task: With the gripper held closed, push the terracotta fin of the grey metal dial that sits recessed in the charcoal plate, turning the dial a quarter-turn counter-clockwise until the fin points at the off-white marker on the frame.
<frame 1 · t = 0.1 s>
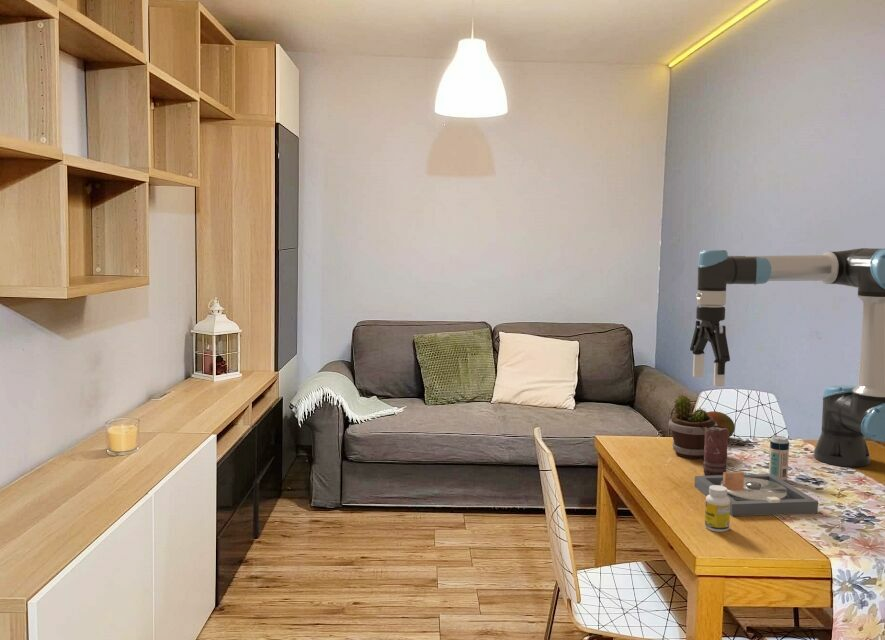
hand: (708, 381, 208), 28 cm above the table, fingers open, 13 cm apart
flowerpot: (691, 454, 235), on the table
supplement bottle: (716, 528, 175), on the table
dial: (753, 483, 194), point 4 cm above the table, hinge at 0.0°
can: (715, 476, 214), on the table
dial plate: (752, 499, 195), on the table
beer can: (777, 479, 211), on the table
fruit: (715, 440, 252), on the table
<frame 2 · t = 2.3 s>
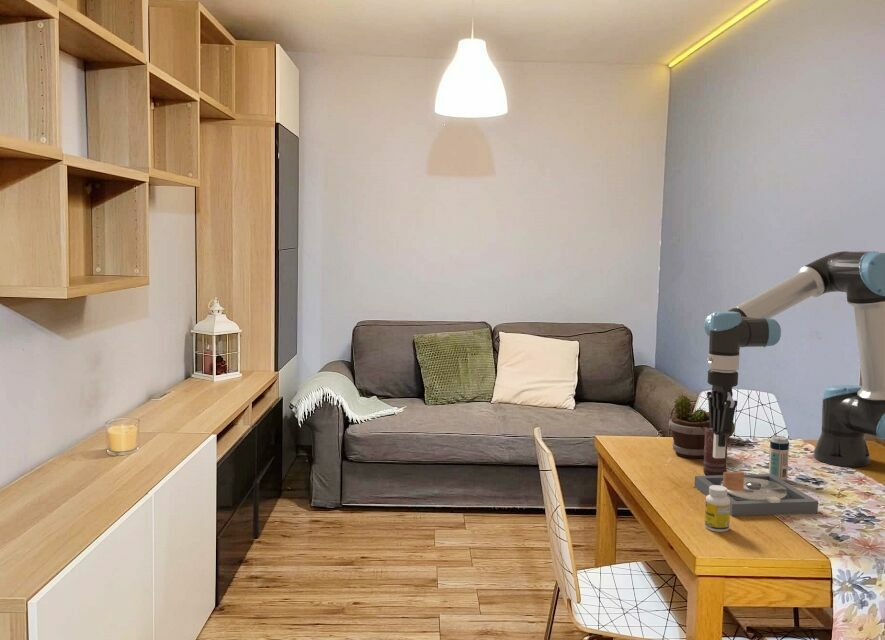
hand: (718, 457, 199), 10 cm above the table, fingers closed
nothing on the table moved.
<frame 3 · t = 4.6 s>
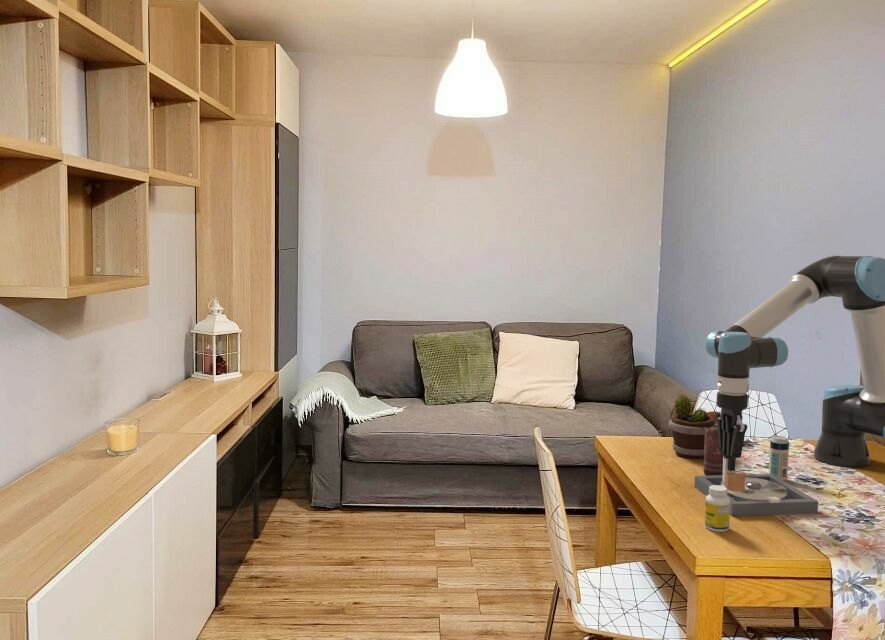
hand: (728, 481, 194), 5 cm above the table, fingers closed
dial: (753, 483, 194), point 4 cm above the table, hinge at 8.3°, touching gripper
everything else where it was.
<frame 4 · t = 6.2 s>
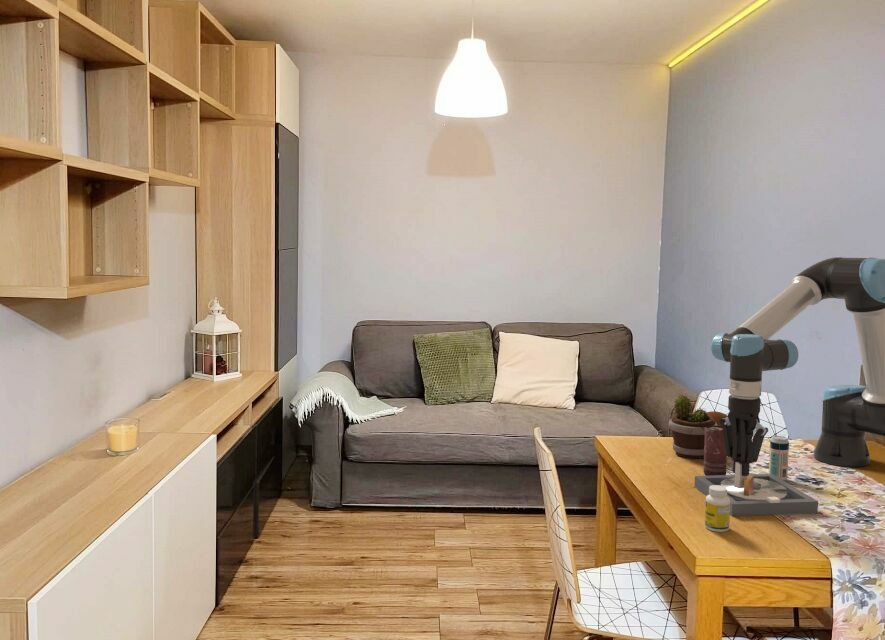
hand: (740, 486, 190), 5 cm above the table, fingers closed
dial: (753, 483, 194), point 4 cm above the table, hinge at 50.8°, touching gripper
everything else where it was.
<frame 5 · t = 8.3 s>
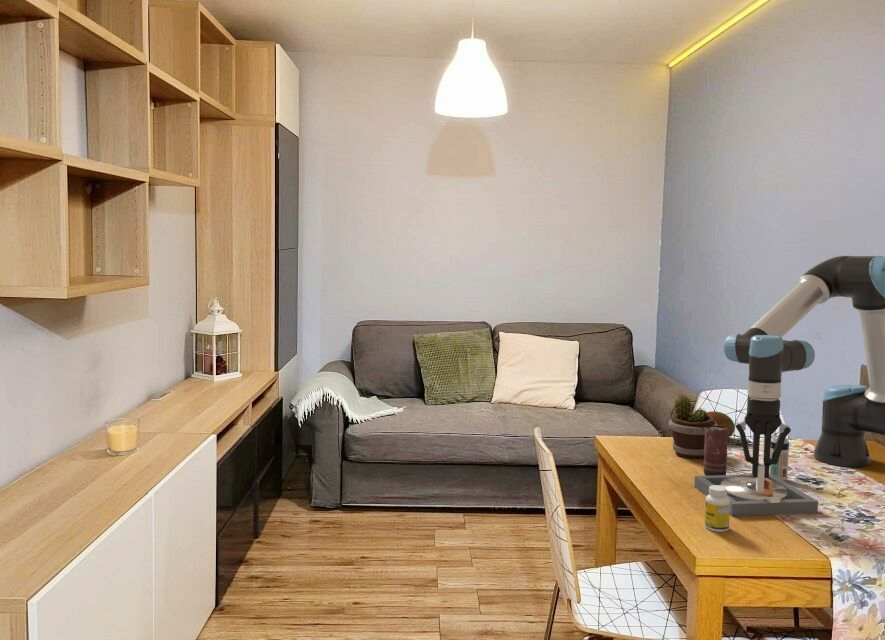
hand: (759, 489, 188), 5 cm above the table, fingers closed
dial: (753, 483, 194), point 4 cm above the table, hinge at 92.7°
everything else where it was.
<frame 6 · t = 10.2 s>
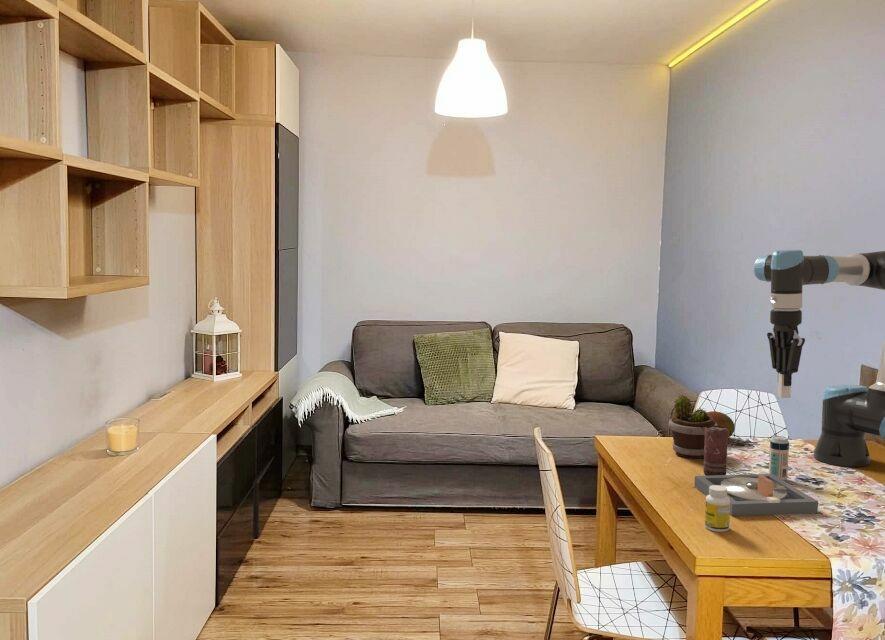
hand: (784, 397, 198), 26 cm above the table, fingers closed
nothing on the table moved.
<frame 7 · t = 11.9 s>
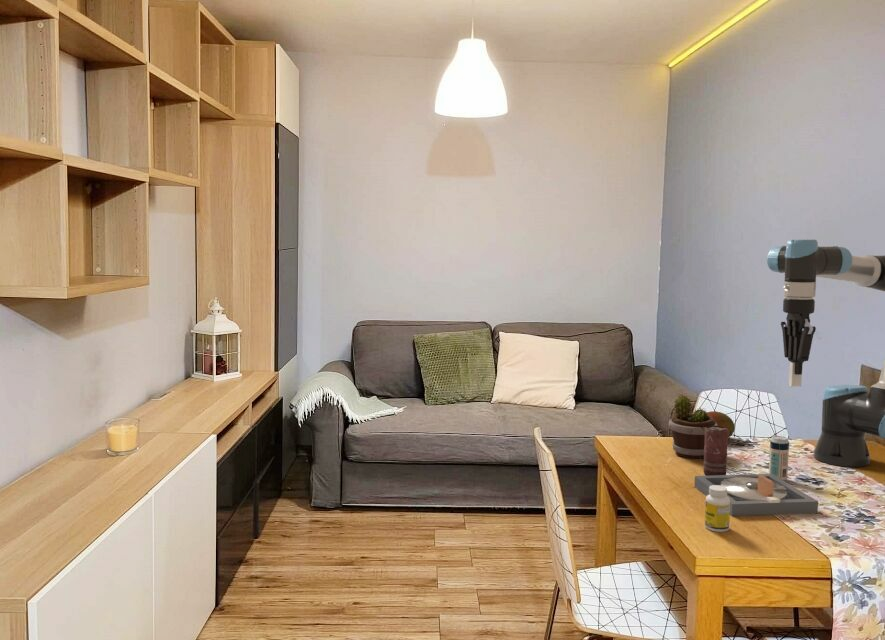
hand: (794, 385, 200), 28 cm above the table, fingers closed
nothing on the table moved.
at the end: dial at +93° (first picture: +0°) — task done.
